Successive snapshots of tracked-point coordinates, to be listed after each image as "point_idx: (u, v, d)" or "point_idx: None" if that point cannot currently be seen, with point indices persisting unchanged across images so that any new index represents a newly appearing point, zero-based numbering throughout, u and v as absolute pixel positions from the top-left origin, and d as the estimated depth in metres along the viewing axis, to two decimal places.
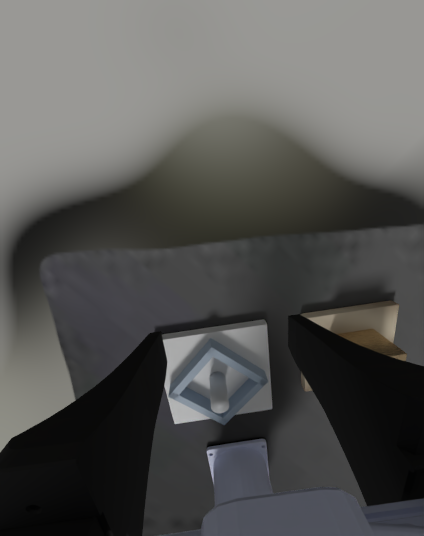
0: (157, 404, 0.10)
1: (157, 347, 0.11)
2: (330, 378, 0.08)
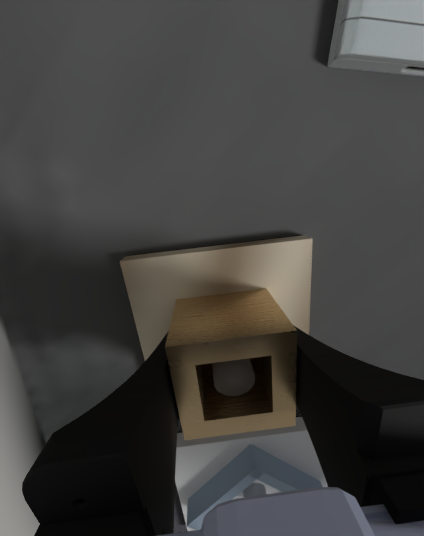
0: None
1: None
2: (304, 381, 0.08)
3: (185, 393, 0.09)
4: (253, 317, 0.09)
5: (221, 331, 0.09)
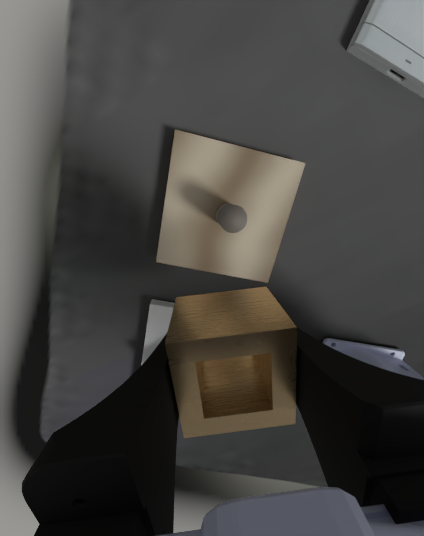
0: None
1: None
2: (304, 381, 0.08)
3: (185, 390, 0.09)
4: (253, 314, 0.09)
5: (221, 329, 0.09)
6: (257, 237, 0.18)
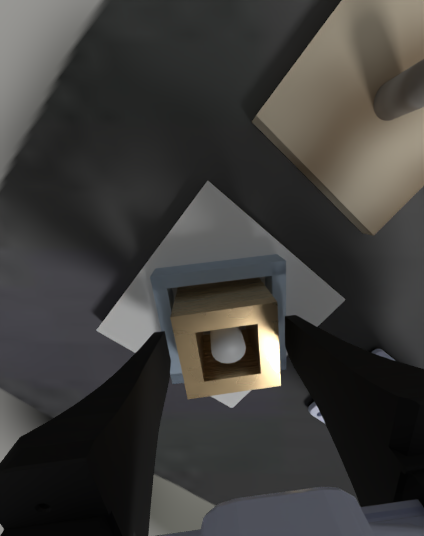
0: (161, 403, 0.10)
1: (161, 347, 0.11)
2: (325, 379, 0.08)
3: (188, 357, 0.11)
4: (243, 294, 0.11)
5: (216, 305, 0.10)
6: (403, 160, 0.12)
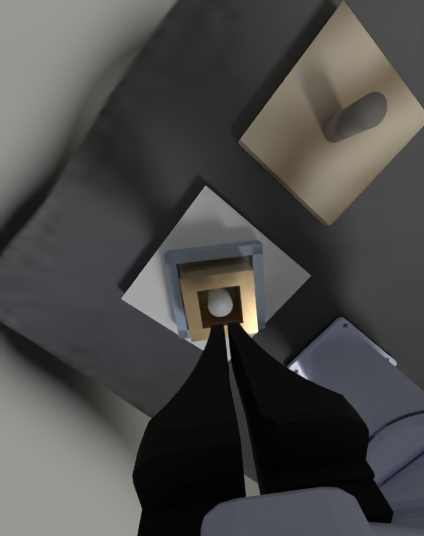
0: None
1: (225, 339, 0.11)
2: (244, 389, 0.08)
3: (191, 309, 0.15)
4: (230, 266, 0.16)
5: (211, 273, 0.15)
6: (348, 170, 0.17)
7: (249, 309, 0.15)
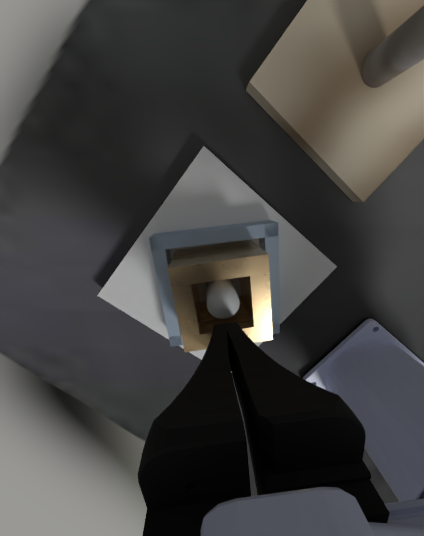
0: None
1: (227, 338, 0.11)
2: (242, 389, 0.08)
3: (184, 309, 0.11)
4: (237, 252, 0.12)
5: (211, 259, 0.11)
6: (390, 127, 0.13)
7: (262, 309, 0.12)
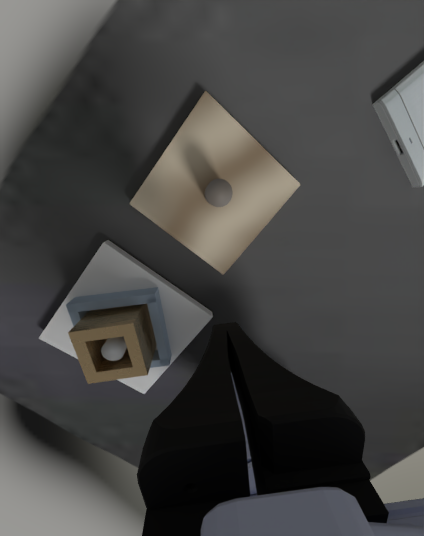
0: None
1: (227, 338, 0.11)
2: (242, 389, 0.08)
3: (83, 356, 0.17)
4: (121, 317, 0.18)
5: (99, 324, 0.17)
6: (232, 228, 0.19)
7: (136, 356, 0.17)
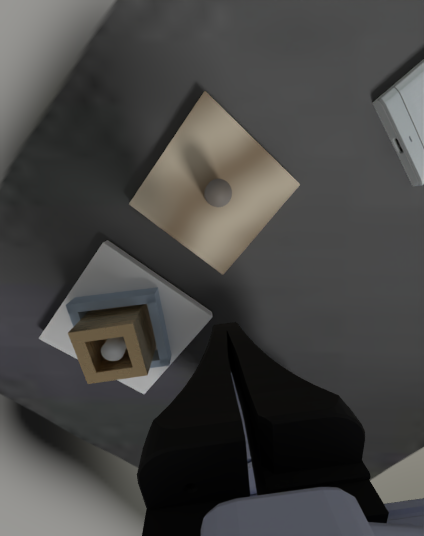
0: None
1: (227, 338, 0.11)
2: (242, 389, 0.08)
3: (83, 357, 0.17)
4: (120, 317, 0.18)
5: (98, 325, 0.17)
6: (232, 228, 0.19)
7: (136, 356, 0.17)
